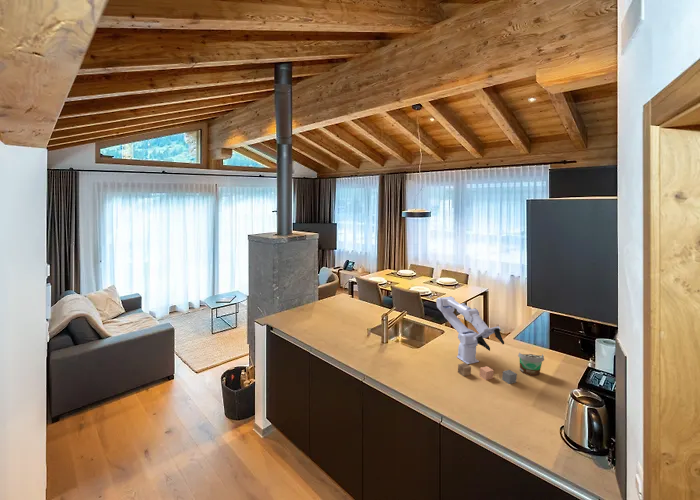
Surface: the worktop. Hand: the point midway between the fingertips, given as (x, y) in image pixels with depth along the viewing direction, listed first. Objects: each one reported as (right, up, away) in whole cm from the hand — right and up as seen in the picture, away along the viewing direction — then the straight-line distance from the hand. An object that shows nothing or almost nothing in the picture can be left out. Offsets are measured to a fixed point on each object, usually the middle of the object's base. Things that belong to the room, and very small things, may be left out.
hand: (496, 346), depth 174 cm
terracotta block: (-3, -17, +4) cm, 18 cm away
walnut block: (-13, -16, +8) cm, 23 cm away
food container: (+21, -17, +7) cm, 28 cm away
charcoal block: (+7, -18, +1) cm, 19 cm away
